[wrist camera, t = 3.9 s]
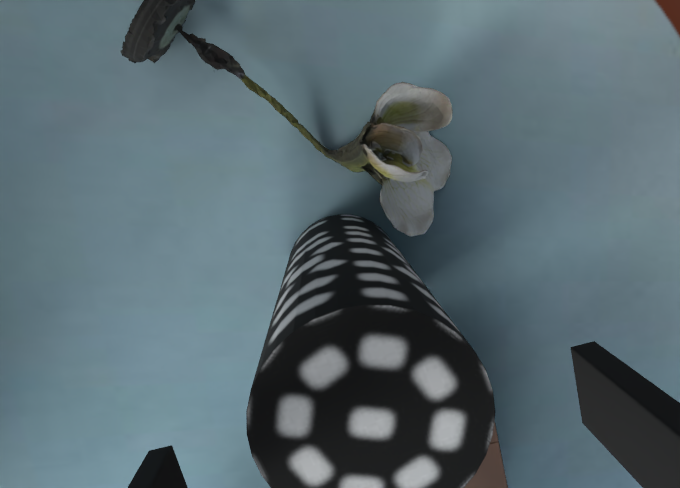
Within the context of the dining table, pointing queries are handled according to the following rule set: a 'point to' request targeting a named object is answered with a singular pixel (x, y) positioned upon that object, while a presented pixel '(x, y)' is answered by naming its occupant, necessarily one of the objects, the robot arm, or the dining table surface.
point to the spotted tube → (364, 373)
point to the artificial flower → (359, 155)
